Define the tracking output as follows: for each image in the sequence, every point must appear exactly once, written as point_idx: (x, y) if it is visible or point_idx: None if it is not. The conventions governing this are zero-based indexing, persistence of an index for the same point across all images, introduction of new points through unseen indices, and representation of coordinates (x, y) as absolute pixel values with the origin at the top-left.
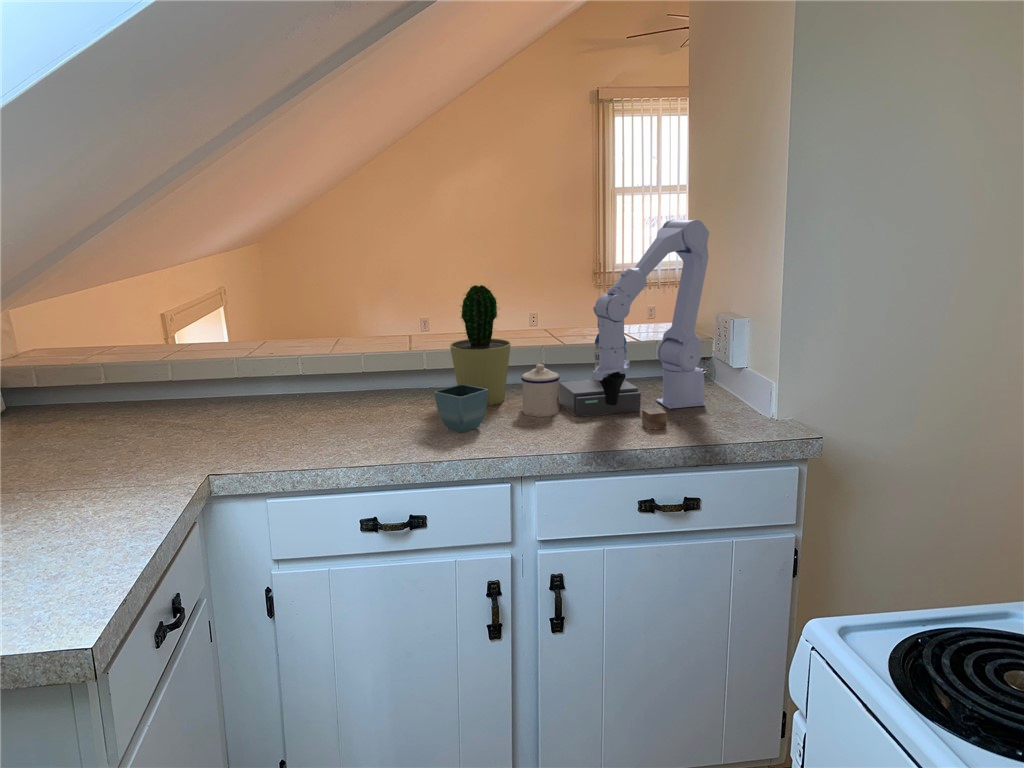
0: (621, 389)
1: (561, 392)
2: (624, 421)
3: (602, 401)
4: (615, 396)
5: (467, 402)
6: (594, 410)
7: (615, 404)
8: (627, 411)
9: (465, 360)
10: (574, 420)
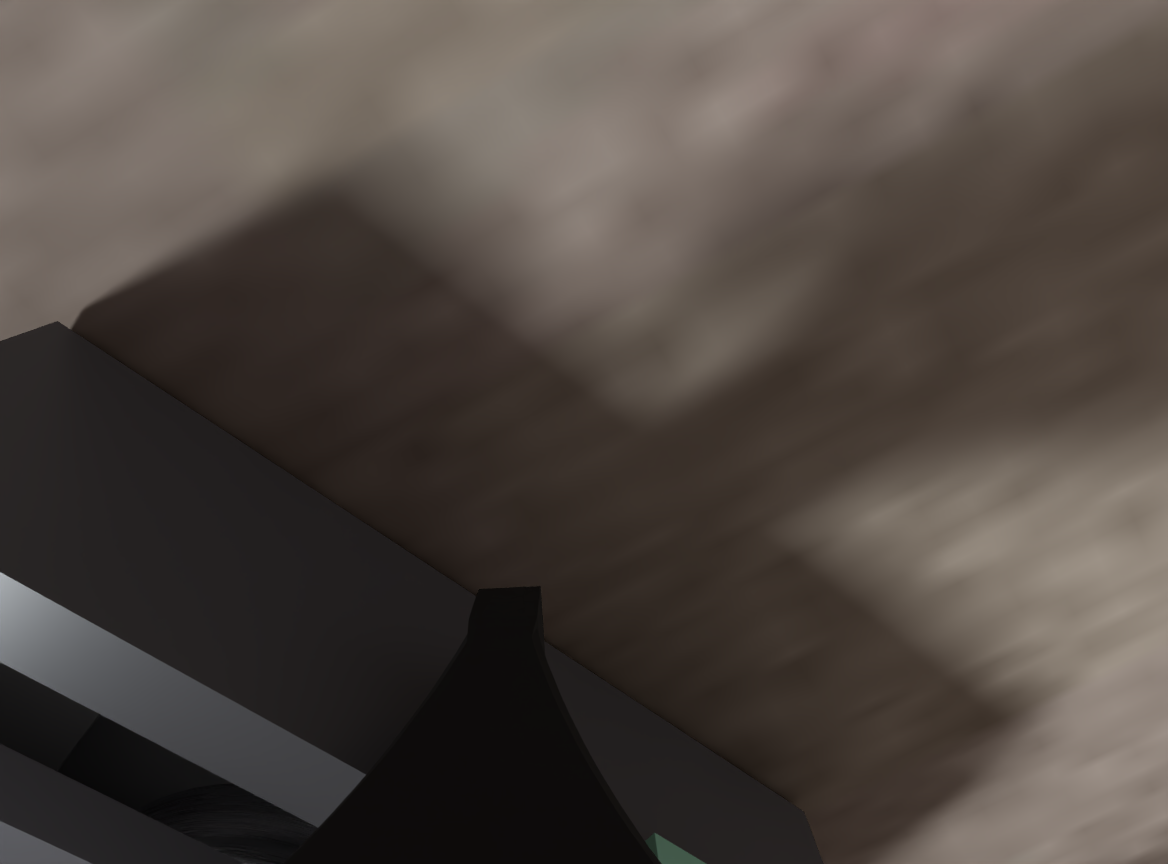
0: (31, 831)
1: None
2: (678, 269)
3: None
4: (554, 687)
5: None
6: (655, 757)
7: (524, 592)
8: (252, 455)
9: None
10: (919, 775)
